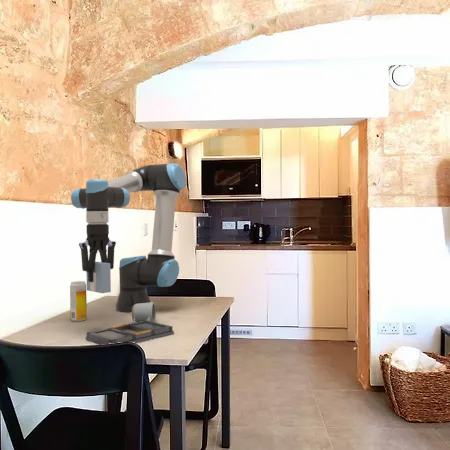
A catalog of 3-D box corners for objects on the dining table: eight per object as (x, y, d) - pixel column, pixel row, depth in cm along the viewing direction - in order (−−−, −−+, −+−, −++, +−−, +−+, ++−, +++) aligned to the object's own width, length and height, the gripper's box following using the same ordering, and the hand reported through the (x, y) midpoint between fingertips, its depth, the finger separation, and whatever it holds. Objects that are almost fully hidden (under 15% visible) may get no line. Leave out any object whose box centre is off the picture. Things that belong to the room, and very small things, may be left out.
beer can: (89, 319, 183) (89, 281, 183) (80, 322, 178) (79, 283, 178) (77, 318, 185) (76, 280, 185) (67, 321, 180) (66, 282, 180)
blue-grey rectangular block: (86, 290, 164) (86, 262, 164) (95, 289, 167) (95, 261, 166) (101, 293, 157) (101, 263, 157) (110, 292, 160) (110, 263, 160)
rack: (85, 339, 151) (85, 331, 151) (145, 327, 168) (145, 319, 168) (113, 348, 140) (112, 339, 140) (173, 334, 157) (173, 325, 157)
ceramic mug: (135, 320, 180) (134, 300, 180) (156, 320, 180) (155, 300, 180) (129, 327, 169) (128, 306, 169) (151, 326, 169) (151, 306, 169)
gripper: (81, 224, 153) (82, 294, 153) (123, 223, 165) (124, 288, 165) (70, 224, 158) (71, 292, 158) (112, 223, 170) (113, 286, 170)
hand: (98, 290), depth 162 cm, fingers closed on blue-grey rectangular block, 3 cm apart
